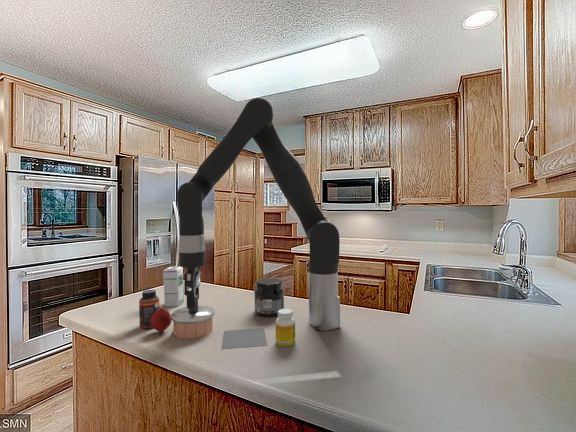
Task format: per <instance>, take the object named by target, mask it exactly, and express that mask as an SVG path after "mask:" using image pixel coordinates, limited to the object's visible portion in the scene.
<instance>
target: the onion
mask: <svg viewBox="0 0 576 432" xmlns="http://www.w3.org/2000/svg"><path fill="white" fill-rule="evenodd" d="M171 324H172V319H171V313H170V312H169V310H167V309H165V308H163V307H162V306H161V305H159V307H158V310H157V311H156V312H155V313H154V314H153V315H152V317H151V325H152V327H153V328H152V329H154V330H155V331H157V332H159V333H164V332H165V331H166V330H168V328H169V327H170V325H171Z"/></svg>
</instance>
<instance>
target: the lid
mask: <svg viewBox="0 0 576 432" xmlns="http://www.w3.org/2000/svg"><path fill="white" fill-rule="evenodd" d="M215 311H216V310H215V308H213V307H212V306H209V305H199V299H198V295H196V294H195V308H193V309H188V308H187V306H185V307H180V308H179V309H176V310H174V311H173V312H172V313H170V315H171V322H173V321H174V322H177V323H197V322H202V321H205V320H208V319H210V318H212V317H213V318H214V316H215V313H216V312H215Z"/></svg>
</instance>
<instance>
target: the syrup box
mask: <svg viewBox="0 0 576 432" xmlns="http://www.w3.org/2000/svg"><path fill="white" fill-rule="evenodd" d="M162 270H163V271H162V275H163V276H162V277H163V295H164V296H163V297H164V306H165V307H180V306H181V305H182V304H184V302H185V294H184V267H180V266H179V265H178V266H169V267H167V268H165V269H162Z"/></svg>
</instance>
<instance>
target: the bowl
mask: <svg viewBox="0 0 576 432" xmlns="http://www.w3.org/2000/svg"><path fill="white" fill-rule="evenodd" d="M213 319H214V316H213V317H212V318H210V319H208V320H205V321H202V322H197V323H177V322H174V321H172V322H173V335H174V336H175V337H177V338H180V339H197V338H201V337H204V336H207V335H209V334H210V333H212V332H213V329H214V320H213Z"/></svg>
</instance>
